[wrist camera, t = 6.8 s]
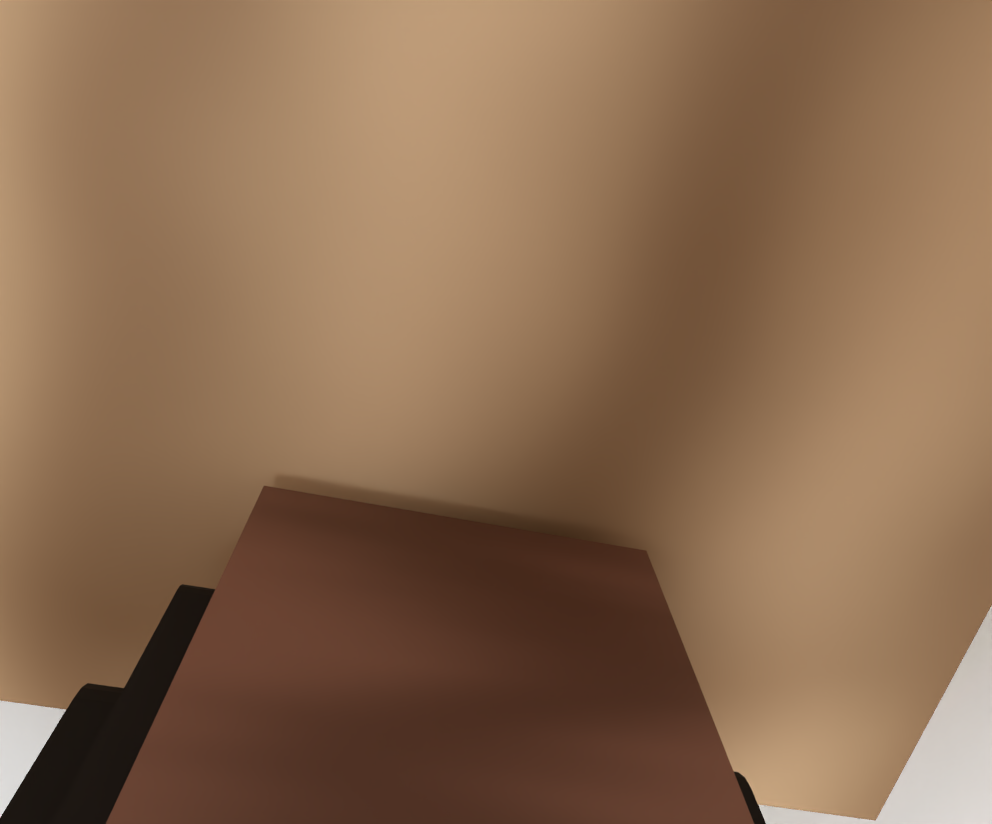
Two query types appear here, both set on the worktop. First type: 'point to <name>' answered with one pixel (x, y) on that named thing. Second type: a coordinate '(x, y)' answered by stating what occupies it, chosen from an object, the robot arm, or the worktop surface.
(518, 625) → the brown block
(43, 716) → the worktop surface
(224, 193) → the pine board
